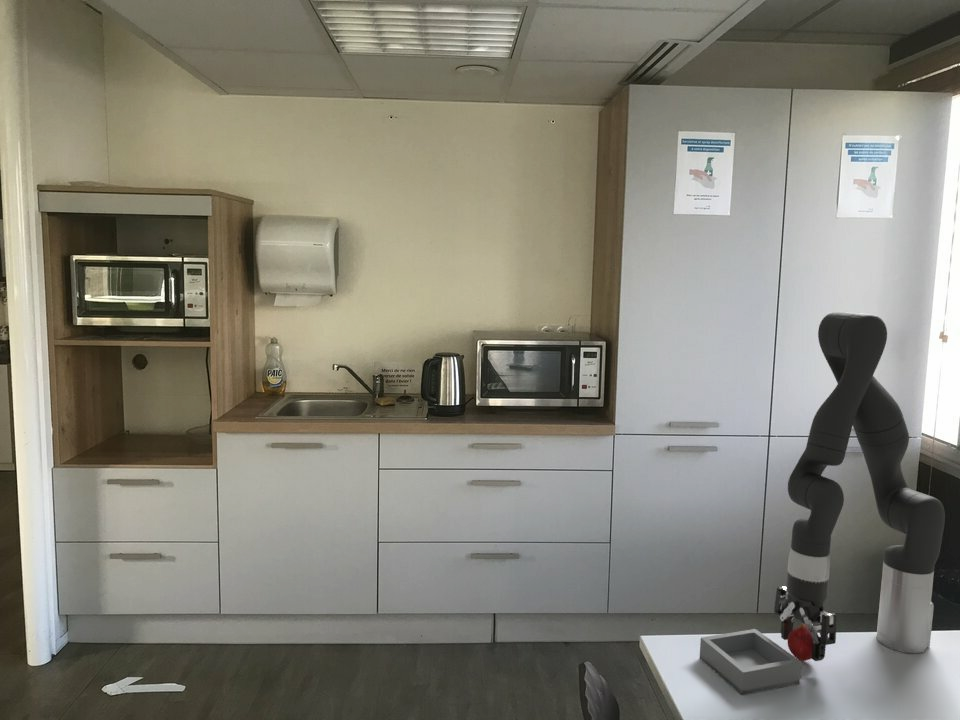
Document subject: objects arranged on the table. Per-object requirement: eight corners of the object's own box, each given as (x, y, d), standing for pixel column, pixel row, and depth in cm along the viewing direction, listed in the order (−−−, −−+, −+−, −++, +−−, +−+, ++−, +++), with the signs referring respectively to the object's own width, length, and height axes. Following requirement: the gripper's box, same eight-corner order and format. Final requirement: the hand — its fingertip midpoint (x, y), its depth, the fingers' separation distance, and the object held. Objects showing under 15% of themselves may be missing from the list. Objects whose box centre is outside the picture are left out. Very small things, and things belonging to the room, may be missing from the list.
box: (753, 649, 150) (755, 628, 149) (799, 683, 137) (801, 661, 137) (699, 658, 146) (700, 637, 145) (741, 695, 133) (743, 672, 133)
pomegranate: (822, 669, 142) (825, 631, 141) (793, 668, 142) (796, 630, 141) (809, 653, 148) (812, 617, 147) (781, 653, 148) (784, 616, 147)
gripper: (851, 585, 137) (843, 664, 139) (797, 556, 151) (791, 629, 153) (819, 589, 135) (812, 670, 137) (768, 560, 148) (762, 634, 150)
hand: (801, 648), depth 145 cm, fingers open, 8 cm apart
